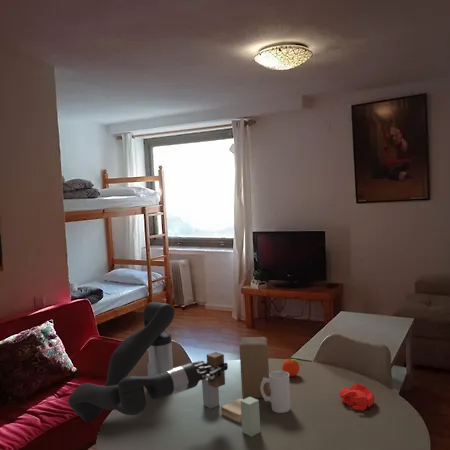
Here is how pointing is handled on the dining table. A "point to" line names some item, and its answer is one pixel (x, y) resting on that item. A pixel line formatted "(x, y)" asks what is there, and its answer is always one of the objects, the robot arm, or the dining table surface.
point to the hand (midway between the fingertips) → (222, 364)
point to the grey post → (210, 395)
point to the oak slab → (233, 410)
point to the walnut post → (214, 360)
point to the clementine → (291, 367)
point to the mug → (278, 391)
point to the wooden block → (254, 366)
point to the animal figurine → (357, 397)
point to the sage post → (250, 416)
